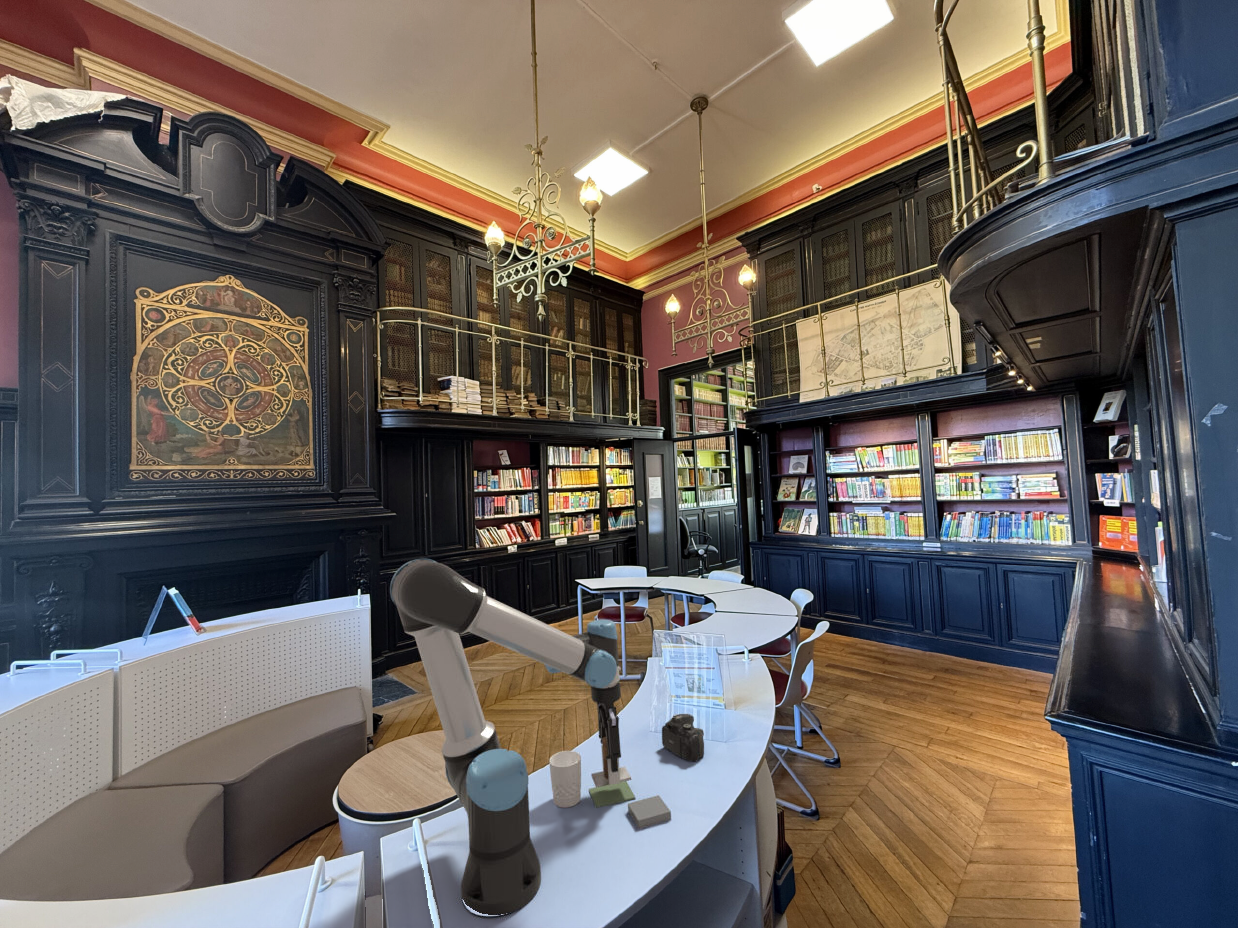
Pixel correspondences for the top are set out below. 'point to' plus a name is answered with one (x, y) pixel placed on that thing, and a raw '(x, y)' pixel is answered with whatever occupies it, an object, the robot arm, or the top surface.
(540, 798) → the top surface
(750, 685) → the top surface
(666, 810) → the tile
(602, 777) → the wooden handled stamp
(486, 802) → the robot arm
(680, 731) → the camera
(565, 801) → the white cup
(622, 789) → the pad
